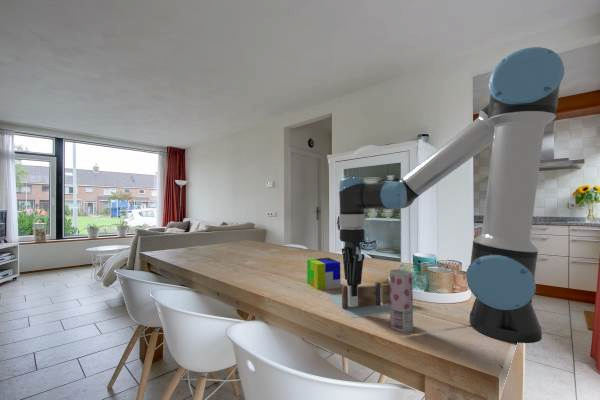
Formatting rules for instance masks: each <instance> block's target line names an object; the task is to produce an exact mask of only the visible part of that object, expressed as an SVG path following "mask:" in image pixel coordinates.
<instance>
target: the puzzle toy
mask: <svg viewBox="0 0 600 400" xmlns="http://www.w3.org/2000/svg"><path fill="white" fill-rule="evenodd" d="M306 261H307V262H306V264H307V265H306V266H307V267H306V270H307V271H306V274H307V275H306V276H307V277H306V278H307V279H306V283H307V285H309V286H311V287H312V288H313V289H315V290H316V291H322V290H330V289H332V290H333V289H338V288H342V285H341V262H340V261H338V260H336V259H333V258H331V257H322V258H311V259H307V260H306Z"/></svg>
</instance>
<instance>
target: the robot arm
mask: <svg viewBox="0 0 600 400" xmlns="http://www.w3.org/2000/svg"><path fill="white" fill-rule="evenodd" d="M564 75H565V66H564V62H563V60H562V58H561V56H560V55H559V54H558V53H557V52H555V51H553V50H552V49H549V48H546V47H541V46H540V47H539V46H533V47H526V48H522V49H519V50H517V51H516V50H515V51H514V52H512V53H510V54H509V55H507V56H506V57H504V58H503V59H502V60H501V61H500V62H499V63H497V65H496V66H495V67H494V69H493V70H492V72H491V74H490V77H489V80H488V90H489V93H490V94H489V102H488V104H487V105H486V106H484V107H483V108H482V109H481V110H480V111H479V113H478V114H479V115H478V116H477V118H476V119H475V120H473V121H472V122H471V123H469V124H468V125H467V126H465V128H463V129H462V130H461V131H459V132H458V133H457V134H456V135H454V136H453V137H452V138H451V139H450V140H448V141H447V142H446V143H444V144H443V145H442V146H441V147H439V148H438V149H437V150H436V151H434V152H433V153H432V154H431V155H428V157H427V158H426V159H424V160H423V161H422V162H421V163H419V164H418V165H417V166H415V167H414V168H413V169H412V170H410V171H409V172H408V173H407V174H405V175H404V176H403V177H402V178H401V179H399V180H398V181H387V182H386V181H385V182H374V183H365V179H364V178H363V177H358V176H353V177H352V176H351V177H348V176H347V177H343V178H341V179H340V181H339V190H338V191H339V192H338V195H339V215H338V216H339V218H338V219H339V221H338V222H339V228H340V229H339V241H340V242H343V243H344V248H341V254H342V261H343V272H344V274H343V275H344V280H345V281H346V283H347V285H346V286H347V287H348V306H349V307H355V306H358V286H361V285H362V278H363V267H364V260H365V257H366V256H365V254H364V253H362V252H361V251H362V250H361V244H360V243H361V242H364V241H365V240H366V239H365V237H366V235H365V234H366V233H365V232H366V231H365V228H364V227H365V220H366V217H365V209H366V210H369V209H374V210H377V209H378V210H398V209H406V208H408V207H410V206H412V205H413V203H414V202H415V200H416V199H418V197H420V196H421V195H423V193H425V192H427V191H428V190H429V189H431V188H433V186H436V184H438V183H439V182H440V181H441V180H443V179H444V178H446V177H447V176H449V175H450V174H451V173H452V172H454V171H455V170H457V169H458V168H459V167H460V166H463V164H465V163H466V162H468V161H469V160H470V159H472V158H474V156H476V155H478V154H479V153H480V152H482V151H483V150H484V149H486V148H487V147H489V146H490V145H492V146H491V156H490V162H489V163H490V164H489V171H488V180H487V189H486V197H485V205H484V214H483V221H482V230H481V234H479V235H477V237H475V238H474V239H473V241H472V249H471V255H470V256H471V257H470V264H468V265H469V266H467V267H468V268H467V269H466V275H465V277H466V284H467V286H468V288H469V290H470V292H471V293H472V295H473V296H474V297H475V299H474V302H473V305H472V308H471V311H470V312H469V325H470V326H471V327H472V328H473V329H474V330H475V331H477V332H479V333H481V334H483V335H485V336H488V337H491V338H495V339H497V340H501V341H505V342H510V343H517V344H534V343H537V342H538V343H539V342H541V340H542V339H543V337H542V336H543V334H542V333H543V332H542V326H541V324H540V323H539V319H538V317H537V314H536V310H535V309H534V307H533V297H534V296H535V294H536V290H537V284H536V281H535V278H536V267H537V261H538V253H539V249H538V248H537V247H536V246H535V245H534V244H533V242H532V241H531V234H532V225H533V217H534V211H535V203H536V195H537V188H538V186H537V185H538V178H539V171H540V164H541V156H542V150H543V148H542V147H543V142H544V141H543V140H544V133H545V127H546V126H547V125H548V124H550V123H551V122H552V121H554V120H555V119H556V116H557V109H558V102H559V96H560V95H559V93H560V87H561V83H562V81H563V79H564Z"/></svg>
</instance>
